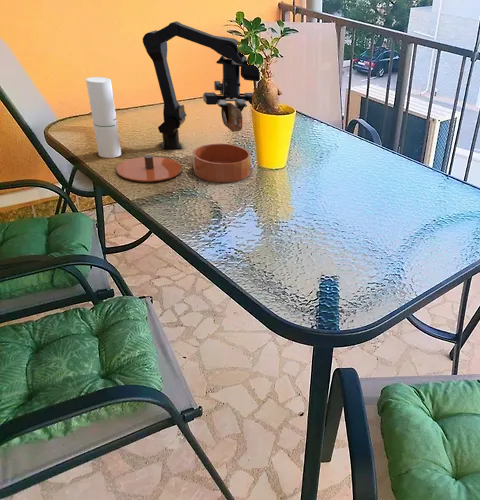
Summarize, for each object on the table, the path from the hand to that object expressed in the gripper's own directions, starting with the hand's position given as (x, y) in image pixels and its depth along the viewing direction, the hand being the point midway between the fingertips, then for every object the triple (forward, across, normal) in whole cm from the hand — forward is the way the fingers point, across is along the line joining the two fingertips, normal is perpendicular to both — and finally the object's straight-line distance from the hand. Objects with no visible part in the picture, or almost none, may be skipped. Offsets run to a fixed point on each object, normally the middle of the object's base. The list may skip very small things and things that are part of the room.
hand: (231, 122), depth 170 cm
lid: (+11, +30, +12) cm, 35 cm away
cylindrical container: (+12, +41, -5) cm, 43 cm away
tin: (+2, 0, 0) cm, 2 cm away
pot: (+12, +8, +16) cm, 21 cm away
